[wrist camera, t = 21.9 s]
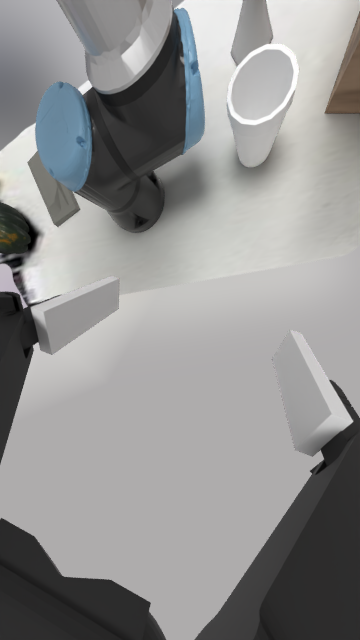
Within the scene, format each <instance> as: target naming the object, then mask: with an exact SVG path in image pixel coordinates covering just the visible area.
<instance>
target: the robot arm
mask: <svg viewBox="0 0 360 640" xmlns="http://www.w3.org/2000/svg"><path fill="white" fill-rule="evenodd" d="M57 2H58V4H59V5H60V7H61V9H62V10H63V12H64V14H65V15H66V17H67V19H68V21H69V22H70V24H71V26H72V27H73V29H74V31H75V32H76V34H77V36H78V38H79V39H80V41H81V42H82V44H83V46H84V48H85V59H86V72H87V76H88V79H89V81H90V83H91V85H92V86H93V87H92V88H91V89H90V90H89V91H87V92H86V93H85V94H84V95H82V94H81V93H80V91H79V90H78V89H76V88H75V87H73V86H72V85H70V84H69V83H63V82H56V83H54V84H53V85H51V86H50V87H49V88H48V89H47V91H46V92H45V94H44V96H43V97H42V99H41V102H40V105H39V108H38V112H37V117H36V128H35V135H36V144H37V149H38V153H39V156H40V159H41V161H42V163H43V165H44V167H45V169H46V170H47V172H48V173H49V174H50V175H51V176H52V177H53V178H54V179H56V180H57V181H59V182H60V183H62V184H63V185H65V186H66V187H67V188H68V189H69V190H71V191H73V192H75V193H77V194H78V195H80V196H82V197H84V198H86V199H87V200H89V201H91V202H93V203H95V204H96V205H98V206H100V207H102V208H103V209H105V210H107V212H108V213H109V214H110V216H111V217H112V218H113V220H114V221H115V222H116V223H117V224H118V225H119V226H120V227H122V228H124V229H126V230H128V231H130V232H142V231H145V230H147V229H149V228H150V227H151V226H153V225H154V223H155V222H156V221H157V220H158V218H159V216H160V214H161V212H162V209H163V205H164V190H163V186H162V184H161V181H160V180H159V178H158V177H157V175H156V174H155V173H154V171H153V170H155V169H157V168H159V167H160V166H162V165H164V164H165V163H167V162H169V161H171V160H172V159H174V158H176V157H177V156H179V155H183V154H184V153H185V152H186V150H188V149H189V148H191V147H192V146H194V145H195V144H197V143H198V142H199V141H200V139H201V137H202V136H203V134H204V129H205V111H204V100H203V91H202V84H201V77H200V72H199V69H198V60H197V51H196V45H195V40H194V35H193V30H192V26H191V22H190V18H189V15H188V12H187V11H186V10H185V9H184V8H181V9H178V8H177V9H175V10H174V9H173V5H172V1H171V0H57ZM119 279H120V278H117V277H113V276H109V277H107V278H104V279H101V280H99V281H96V282H94V283H91V284H89V285H86V286H84V287H81V288H78V289H76V290H73V291H71V292H68V293H66V294H63V295H58V296H55V297H53V298H51V299H47V300H45V301H42V302H40V303H37V304H34V305H32V306H29V307H27V308H24V309H23V306H22V302H21V298H20V295H19V294H17V293H14V292H0V463H1V460H2V457H3V453H4V450H5V446H6V443H7V440H8V436H9V433H10V429H11V426H12V423H13V419H14V416H15V412H16V408H17V406H18V402H19V399H20V395H21V392H22V389H23V385H24V381H25V378H26V375H27V372H28V368H29V365H30V361H31V358H32V354H33V351H34V350H33V345H34V344H36V343H37V342H39V345H40V350H41V351H44V352H46V353H49V354H51V355H52V354H54V353H55V352H57V351H58V350H60V349H61V348H62V347H64V346H65V345H67V344H68V343H70V342H71V341H73V340H74V339H76V338H77V337H78V336H80V335H81V334H83V333H84V332H86V331H87V330H89V329H90V328H91V327H93V326H94V325H96V324H97V323H99V322H100V321H102V320H103V319H105V318H106V317H107V316H109V315H110V314H112V313H113V312H115V311H116V310H117V309H118V307H119ZM272 361H273V365H274V369H275V373H276V377H277V381H278V385H279V389H280V392H281V397H282V401H283V405H284V409H285V412H286V416H287V420H288V424H289V428H290V432H291V436H292V440H293V444H294V448H295V450H297V451H299V452H302V453H305V454H307V455H310V456H314V455H315V454H316V453H317V452H319V451H320V450H321V452H322V454H323V457H324V460H323V461H322V462H320V463H319V464H318V465H317V466H315V467H314V468H313V469H312V470H311V471H310V472H311V473H312V475H311V477H310V478H309V480H308V481H307V483H306V484H305V486H304V487H303V489H302V490H301V491H300V493H299V494H298V496H297V497H296V499H295V500H294V502H293V503H292V505H291V506H290V508H289V509H288V511H287V512H286V514H285V515H284V516H283V518H282V520H281V521H280V522H279V524H278V525H277V527H276V528H275V530H274V531H273V533H272V534H271V536H270V537H269V539H268V540H267V542H266V543H265V545H264V546H263V548H262V549H261V551H260V552H259V553H258V555H257V556H256V558H255V560H254V561H253V562H252V564H251V565H250V567H249V568H248V570H247V571H246V573H245V574H244V576H243V577H242V579H241V580H240V582H239V583H238V585H237V586H236V588H235V589H234V590H233V592H232V594H231V595H230V596H229V598H228V599H227V601H226V602H225V604H224V605H223V607H222V608H221V610H220V611H219V612H218V614H217V615H216V616H215V617H214V618H213V619H212V620H211V621H210V622H209V623H208V624H207V625H206V626H205V627H204V629H203V630H202V631H201V633H199V635H198V636H197V637H196V639H195V640H360V418H359V416H358V415H357V413H356V412H355V410H354V408H353V407H351V404H350V402H349V401H348V400H347V398H346V396H345V394H344V393H343V391H342V390H341V388H339V386H337V384H336V383H335V382H333V381H332V380H329V379H328V378H327V376H326V374H325V373H324V371H323V369H322V368H321V366H320V364H319V363H318V361H317V359H316V357H315V356H314V354H313V352H312V351H311V349H310V347H309V346H308V344H307V342H306V341H305V339H304V337H303V335H302V334H301V333H299V332H296V331H292V330H289V332H288V333H287V335H286V337H285V338H284V340H283V342H282V343H281V345H280V347H279V348H278V350H277V352H276V353H275V355H274V357H273V358H272ZM150 604H151V603H150V602H148V601H146V600H145V599H143V598H141V597H140V596H138V595H136V594H134V593H133V592H131V591H129V590H127V589H126V588H124V587H122V586H120V585H119V584H117V583H115V582H113V581H112V580H104V579H88V578H71V577H64V576H62V575H61V573H60V572H59V570H58V569H57V567H56V566H55V564H54V563H53V561H52V560H51V558H50V557H49V556H48V554H47V553H46V552H45V550H44V549H43V548H42V546H41V545H40V543H39V542H38V541H37V539H36V538H35V537H34V536H32V535H31V534H29V533H27V532H25V531H24V530H22V529H20V528H18V527H16V526H15V525H13V524H11V523H9V522H8V521H6V520H4V519H2V518H1V519H0V640H166V639H165V636H164V634H163V632H162V630H161V629H160V627H159V625H158V624H157V622H156V620H155V619H154V618H153V616H152V615H151V613H150V612H149V607H150Z"/></svg>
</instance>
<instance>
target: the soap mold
mask: <svg viewBox="0 0 360 640" xmlns="http://www.w3.org/2000/svg"><path fill="white" fill-rule="evenodd" d="M28 165H29V167H30V170H31V172H32V174H33V177H34V179H35V181H36V184H37V186H38V188H39V191H40V193H41V195H42V198H43V200H44V202H45V205H46V207H47V209H48V212H49V214H50V216H51V219H52V221H53V223H54V224H55V225H56V226H57V227H59V226H60V225H61V224H62V223H64V222H65V221H66V220H67V219H68V218H70V217H71V216H72V215H73V214H75V213H76V212H77V211H79V210H80V208H79V206H78V204H77V201H76V199H75V197H74V194H73V192H72V191H71V190H69V189H68V188H67V187H66V186H65V185H63V184H62V183H60V182H59V181H57V180H56V179H54V178H53V177H52V176H51V175H50V174H49V173H48V172H47V170H46V169H45V167H44V165H43V163H42V161H41V159H40V156H39V153H38V151H37V152H36V153H35V155H34V156H33V157H32V158H31V159H30V160H29V161H28Z"/></svg>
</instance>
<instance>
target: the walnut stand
mask: <svg viewBox="0 0 360 640" xmlns="http://www.w3.org/2000/svg"><path fill="white" fill-rule="evenodd" d="M325 113H360V12H359V15H358V18H357V21H356V24H355V27H354V29H353V32H352V35H351V38H350V41H349V44H348V47H347V50H346V53H345V56H344V59H343V61H342V64H341V67H340V70H339V73H338V76H337V79H336V82H335V85H334V88H333V91H332V93H331V96H330V99H329V102H328V105H327V108H326V111H325Z"/></svg>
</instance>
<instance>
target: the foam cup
mask: <svg viewBox="0 0 360 640" xmlns="http://www.w3.org/2000/svg"><path fill="white" fill-rule="evenodd" d="M298 72H299V67H298V63H297V60H296V57H295V53H294V52H293V51H291V50H290V49H289V48H287V47H286V46H285V45H283V44H266V45H264V46H262V47H260V48H258V49H256V50H254V51H252V52H250V53H249V54H248V55H247V57H246V58H245V59H244V60H243V61H242V62H241V63H240V64H239V65H238V66H237V68H236V70H235V72H234V74H233V76H232V78H231V80H230V83H229V86H228V95H227V112H228V117H229V121H230V124H231V127H232V130H233V135H234V139H235V143H236V148H237V152H238V156H239V159H240V162H241V163H242V164H243V165H244V166H245V167H251V168H252V167H255V166H258V165H260V164H261V163H262V162H264V161H265V160H266V158H267V156H268V155H269V153H270V151H271V148H272V146H273V144H274V141H275V139H276V136H277V134H278V131H279V129H280V127H281V124H282V122H283V119H284V117H285V115H286V112H287V111H288V109H289V107H290V105H291V103H292V100H293V96H294V92H295V89H296V84H297V78H298Z"/></svg>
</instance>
